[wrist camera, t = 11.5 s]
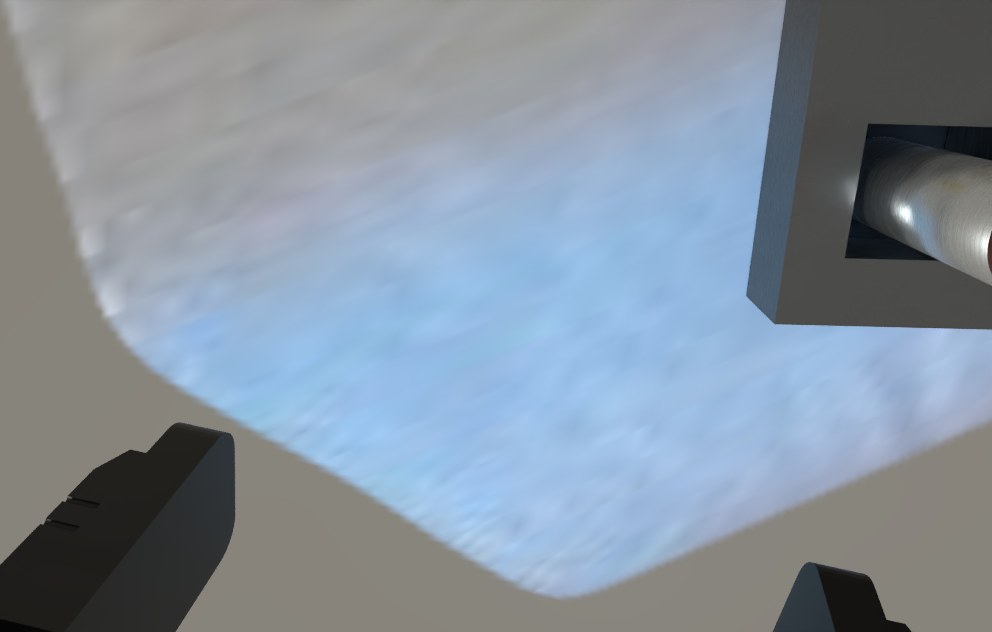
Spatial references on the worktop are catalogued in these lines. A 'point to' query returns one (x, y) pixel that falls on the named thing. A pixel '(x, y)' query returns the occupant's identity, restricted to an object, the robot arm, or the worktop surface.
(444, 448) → the worktop surface
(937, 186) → the pin
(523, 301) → the worktop surface
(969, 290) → the grey block with hole
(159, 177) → the worktop surface
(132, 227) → the worktop surface
